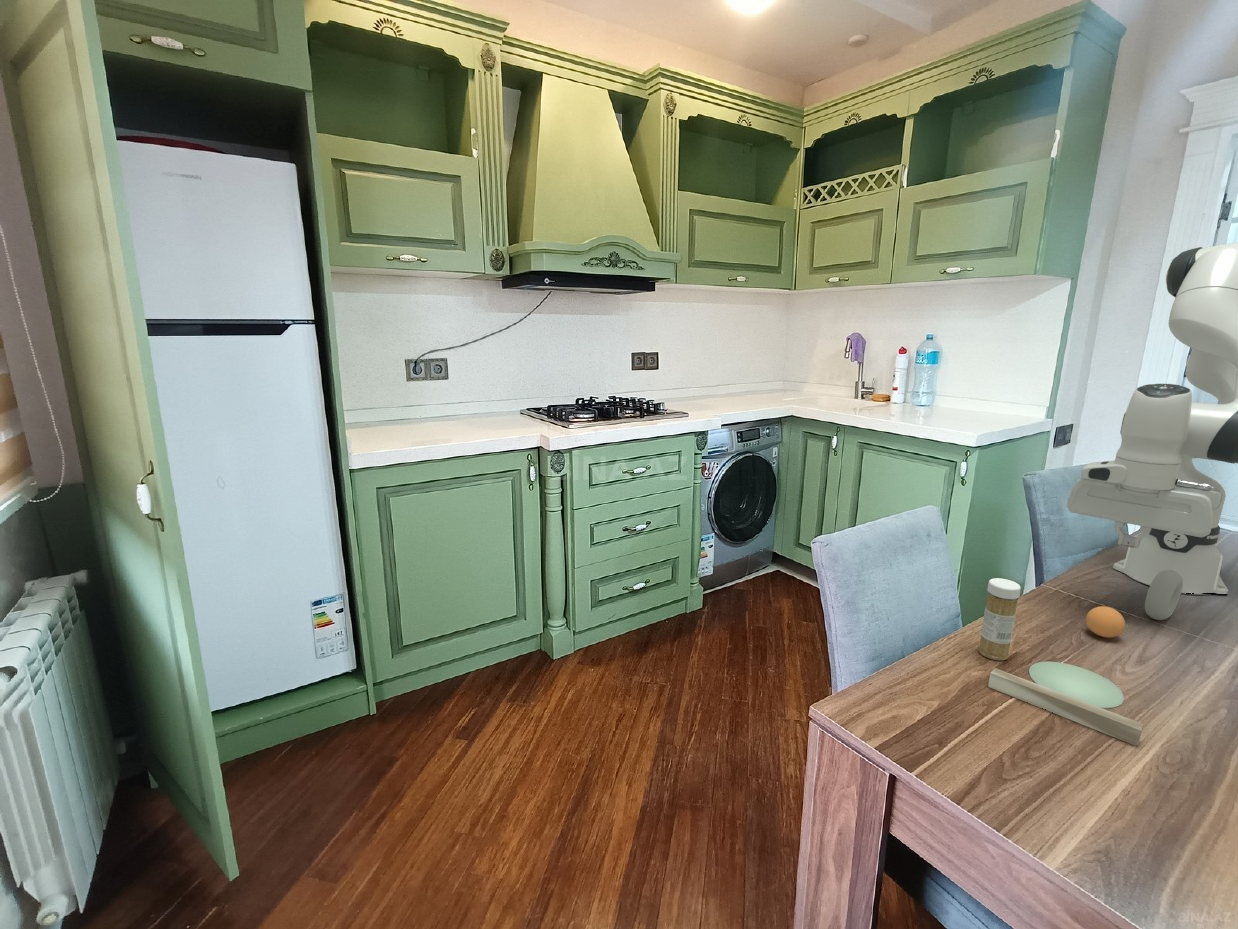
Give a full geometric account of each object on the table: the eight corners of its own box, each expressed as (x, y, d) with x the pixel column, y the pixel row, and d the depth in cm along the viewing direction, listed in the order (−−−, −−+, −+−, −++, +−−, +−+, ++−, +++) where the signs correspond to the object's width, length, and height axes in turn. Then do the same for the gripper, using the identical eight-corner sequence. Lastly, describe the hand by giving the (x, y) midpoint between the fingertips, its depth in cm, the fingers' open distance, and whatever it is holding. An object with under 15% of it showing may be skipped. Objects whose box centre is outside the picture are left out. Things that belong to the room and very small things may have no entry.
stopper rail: (992, 681, 94) (994, 667, 93) (1139, 739, 81) (1143, 724, 80) (988, 686, 92) (990, 672, 92) (1137, 746, 79) (1141, 730, 79)
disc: (1039, 654, 101) (1040, 653, 101) (1129, 685, 93) (1130, 684, 93) (1019, 682, 93) (1019, 681, 93) (1115, 719, 85) (1116, 718, 85)
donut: (1161, 629, 109) (1173, 580, 107) (1137, 622, 112) (1148, 573, 110) (1178, 615, 115) (1190, 568, 112) (1155, 608, 118) (1166, 562, 115)
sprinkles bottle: (1004, 650, 103) (1016, 579, 99) (1011, 664, 98) (1025, 590, 95) (974, 645, 104) (985, 575, 101) (980, 659, 100) (992, 586, 97)
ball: (1086, 624, 111) (1092, 598, 110) (1124, 636, 107) (1130, 608, 106) (1080, 635, 108) (1086, 607, 106) (1118, 647, 104) (1125, 618, 102)
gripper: (1226, 483, 101) (1207, 557, 104) (1079, 462, 116) (1066, 528, 119) (1223, 489, 97) (1203, 567, 100) (1071, 467, 112) (1058, 535, 115)
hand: (1128, 546), depth 110 cm, fingers closed
